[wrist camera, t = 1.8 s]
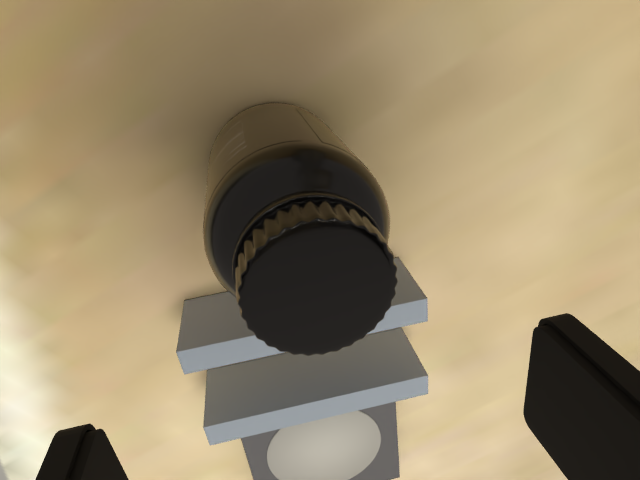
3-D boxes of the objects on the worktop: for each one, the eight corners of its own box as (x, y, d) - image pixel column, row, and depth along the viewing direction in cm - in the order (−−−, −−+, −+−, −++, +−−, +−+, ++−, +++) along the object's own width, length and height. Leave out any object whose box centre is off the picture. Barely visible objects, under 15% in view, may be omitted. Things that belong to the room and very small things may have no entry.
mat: (233, 402, 30) (233, 415, 29) (389, 366, 31) (394, 378, 30) (262, 499, 35) (263, 513, 34) (395, 465, 36) (400, 478, 35)
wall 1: (184, 300, 26) (176, 351, 22) (398, 257, 27) (427, 298, 23) (191, 320, 26) (184, 374, 22) (399, 277, 28) (427, 321, 24)
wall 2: (207, 370, 28) (203, 427, 24) (401, 327, 30) (428, 375, 26) (212, 386, 29) (209, 445, 25) (402, 344, 30) (427, 393, 26)
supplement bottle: (246, 245, 25) (258, 414, 14) (184, 134, 22) (140, 247, 11) (357, 195, 25) (452, 329, 14) (312, 76, 21) (392, 135, 11)
